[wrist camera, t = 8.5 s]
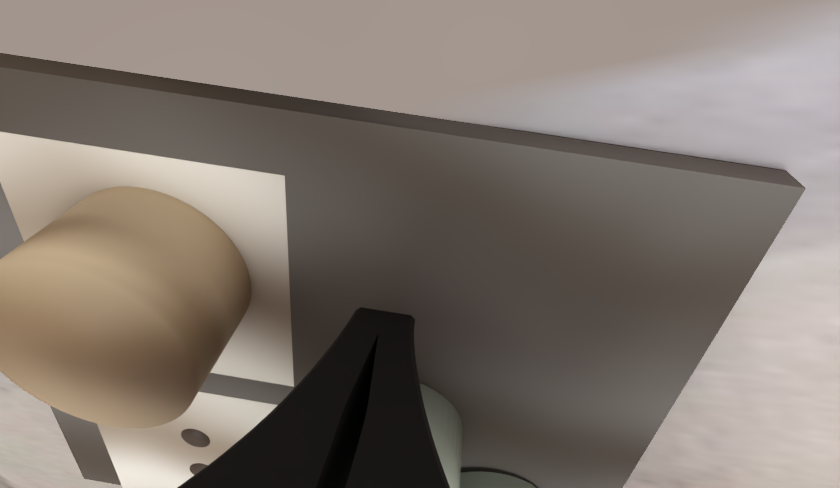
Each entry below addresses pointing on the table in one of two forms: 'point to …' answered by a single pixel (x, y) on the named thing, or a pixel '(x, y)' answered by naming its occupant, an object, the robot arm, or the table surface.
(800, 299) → the table surface
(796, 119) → the table surface
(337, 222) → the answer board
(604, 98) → the table surface
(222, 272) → the beige rounded lump
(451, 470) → the mint cylinder
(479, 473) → the pale green dome
